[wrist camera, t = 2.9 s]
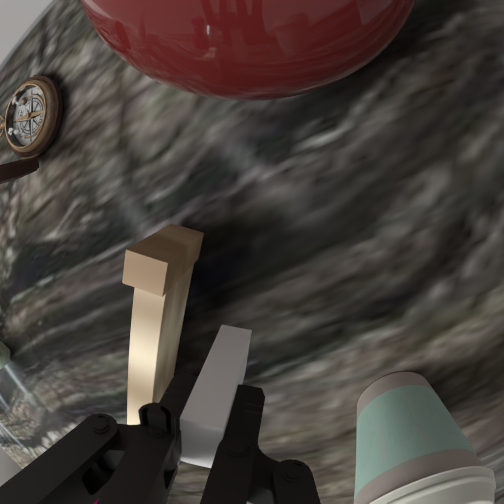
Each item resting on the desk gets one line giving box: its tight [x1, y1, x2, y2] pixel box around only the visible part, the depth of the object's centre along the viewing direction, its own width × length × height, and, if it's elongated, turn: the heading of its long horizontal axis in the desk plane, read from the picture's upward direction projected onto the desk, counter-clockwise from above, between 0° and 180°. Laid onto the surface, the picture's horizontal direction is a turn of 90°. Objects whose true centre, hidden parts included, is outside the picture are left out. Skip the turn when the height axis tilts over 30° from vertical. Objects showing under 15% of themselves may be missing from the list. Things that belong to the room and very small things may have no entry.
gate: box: [122, 224, 204, 425], centre depth 18 cm, size 18×2×6 cm, turn 165°
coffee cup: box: [354, 372, 496, 504], centre depth 15 cm, size 8×9×12 cm
